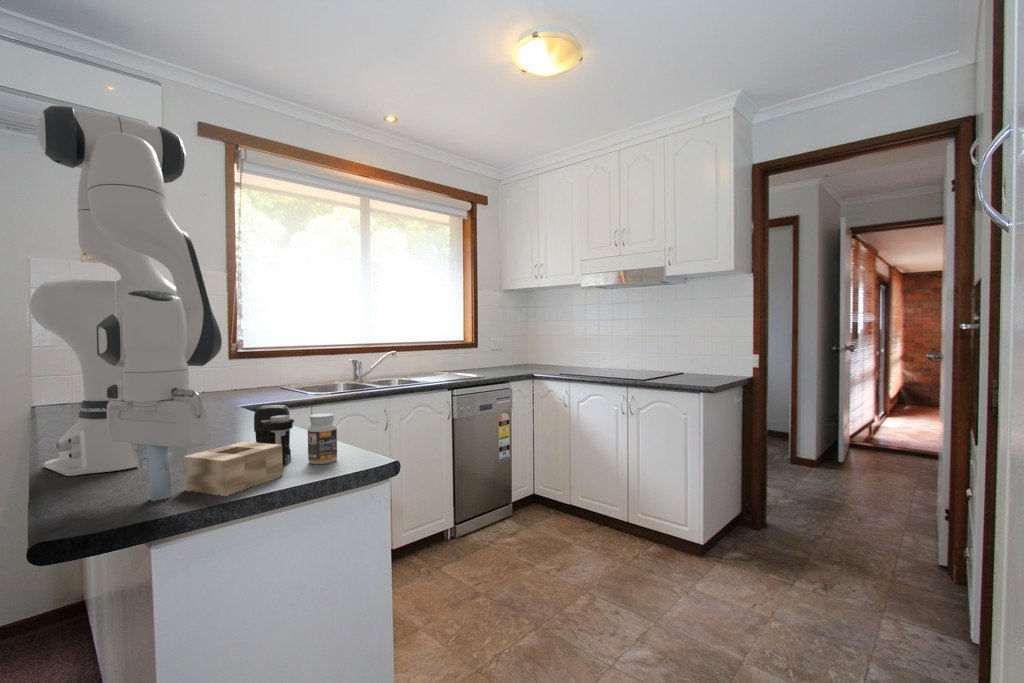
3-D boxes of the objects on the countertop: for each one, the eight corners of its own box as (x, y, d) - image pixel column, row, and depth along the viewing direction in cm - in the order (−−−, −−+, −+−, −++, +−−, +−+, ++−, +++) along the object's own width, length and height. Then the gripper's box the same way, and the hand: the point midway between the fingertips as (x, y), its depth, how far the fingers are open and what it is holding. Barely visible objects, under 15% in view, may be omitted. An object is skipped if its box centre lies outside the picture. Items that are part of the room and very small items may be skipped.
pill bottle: (323, 466, 98) (322, 417, 98) (302, 463, 100) (301, 416, 100) (343, 459, 103) (342, 413, 103) (322, 457, 106) (321, 412, 105)
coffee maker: (253, 461, 103) (251, 408, 102) (257, 457, 106) (255, 405, 106) (288, 458, 105) (287, 406, 105) (291, 454, 108) (290, 404, 108)
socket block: (184, 490, 84) (183, 456, 84) (244, 471, 95) (243, 441, 95) (225, 496, 80) (224, 460, 80) (282, 476, 92) (282, 444, 91)
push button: (288, 468, 97) (287, 419, 97) (260, 470, 96) (259, 420, 96) (298, 460, 103) (297, 413, 103) (272, 461, 103) (270, 414, 102)
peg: (144, 500, 79) (143, 439, 79) (163, 494, 82) (161, 436, 82) (157, 502, 78) (155, 441, 78) (175, 496, 81) (173, 437, 81)
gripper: (219, 387, 79) (221, 470, 79) (137, 384, 86) (140, 460, 87) (181, 392, 73) (183, 482, 73) (97, 388, 80) (99, 470, 81)
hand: (159, 470), depth 80 cm, fingers open, 5 cm apart
